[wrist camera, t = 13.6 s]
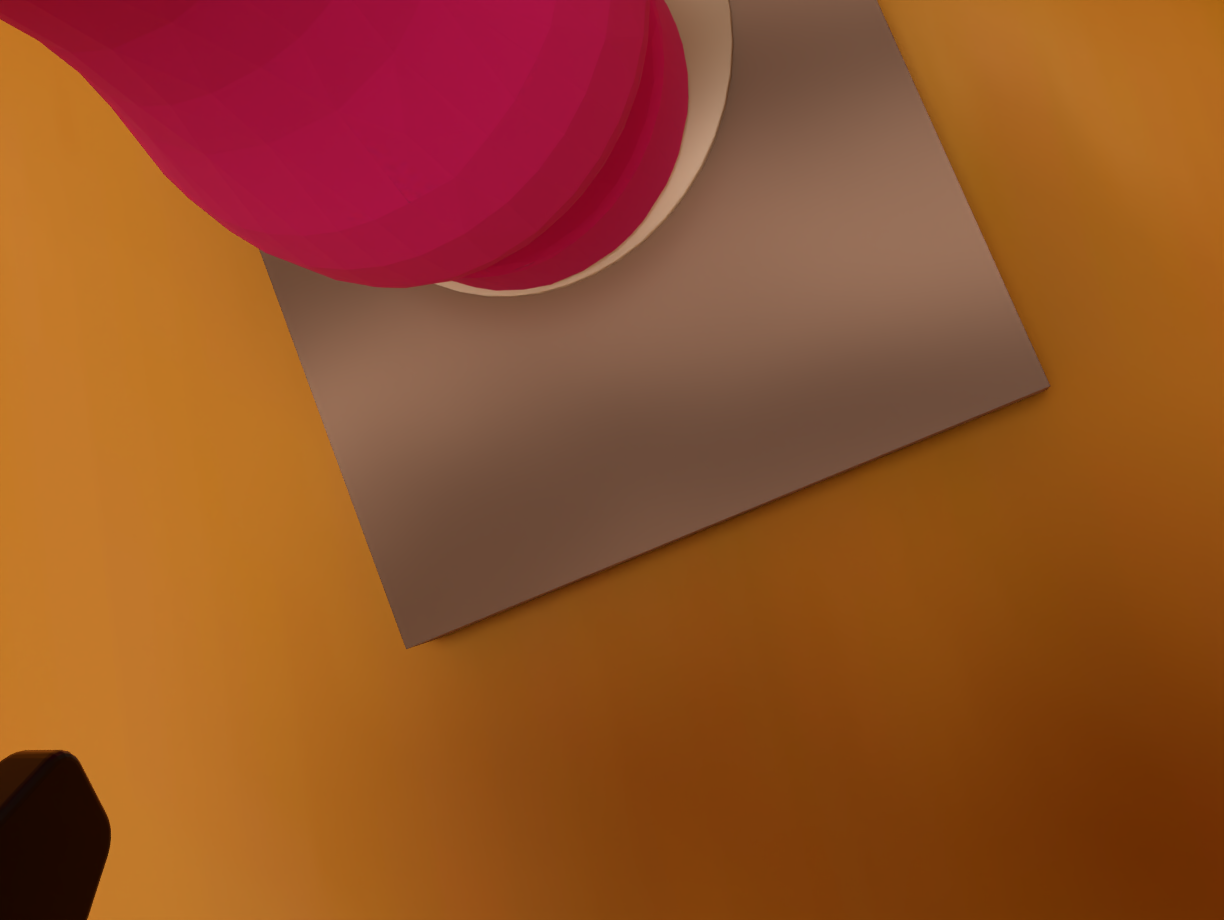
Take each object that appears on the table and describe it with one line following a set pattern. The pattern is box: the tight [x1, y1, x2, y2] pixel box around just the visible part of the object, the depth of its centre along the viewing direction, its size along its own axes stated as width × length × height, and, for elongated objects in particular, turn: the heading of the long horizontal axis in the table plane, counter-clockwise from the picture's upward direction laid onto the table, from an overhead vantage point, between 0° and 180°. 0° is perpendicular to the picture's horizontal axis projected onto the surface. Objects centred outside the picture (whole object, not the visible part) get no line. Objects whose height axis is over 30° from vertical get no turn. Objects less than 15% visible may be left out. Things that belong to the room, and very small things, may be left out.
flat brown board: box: [259, 0, 1050, 649], centre depth 19 cm, size 14×12×4 cm
